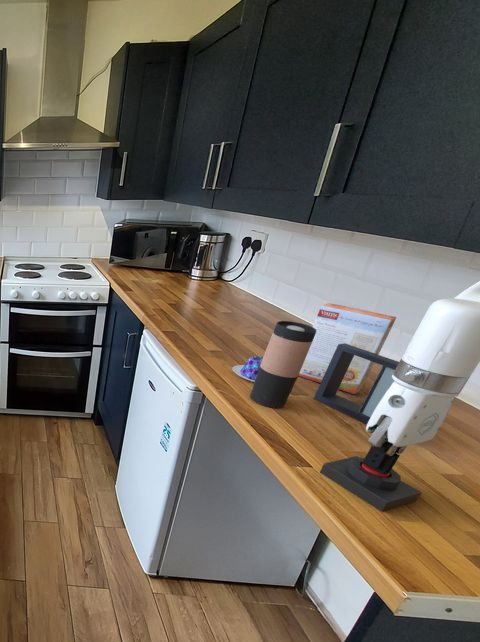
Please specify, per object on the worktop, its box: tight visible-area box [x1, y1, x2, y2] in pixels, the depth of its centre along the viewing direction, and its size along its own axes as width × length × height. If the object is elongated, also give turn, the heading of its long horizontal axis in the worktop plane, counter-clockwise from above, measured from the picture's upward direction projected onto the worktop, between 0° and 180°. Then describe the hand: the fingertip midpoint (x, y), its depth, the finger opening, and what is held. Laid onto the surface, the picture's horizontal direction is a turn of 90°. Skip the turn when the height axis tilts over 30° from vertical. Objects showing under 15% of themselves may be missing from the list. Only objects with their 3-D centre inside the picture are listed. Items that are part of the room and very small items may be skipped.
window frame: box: [313, 343, 400, 425], centre depth 92 cm, size 18×5×15 cm, turn 17°
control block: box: [319, 455, 423, 513], centre depth 72 cm, size 10×9×4 cm
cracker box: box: [298, 302, 397, 395], centre depth 107 cm, size 14×6×21 cm, turn 34°
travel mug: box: [249, 320, 316, 409], centre depth 96 cm, size 8×8×20 cm
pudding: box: [232, 355, 264, 383], centre depth 111 cm, size 12×12×5 cm
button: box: [361, 464, 390, 478], centre depth 71 cm, size 4×4×2 cm
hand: (375, 468), depth 71 cm, fingers closed
